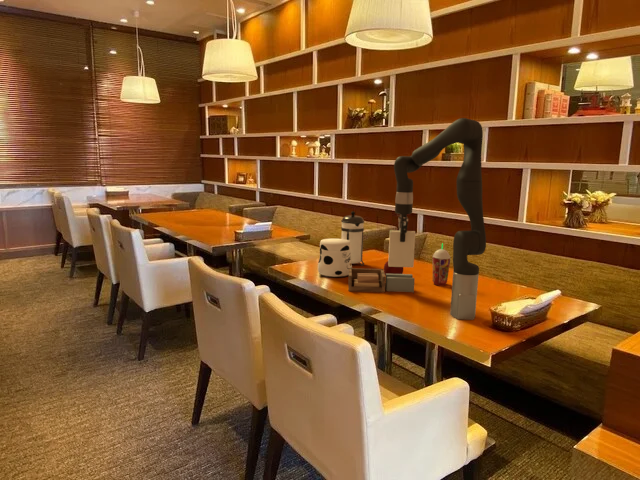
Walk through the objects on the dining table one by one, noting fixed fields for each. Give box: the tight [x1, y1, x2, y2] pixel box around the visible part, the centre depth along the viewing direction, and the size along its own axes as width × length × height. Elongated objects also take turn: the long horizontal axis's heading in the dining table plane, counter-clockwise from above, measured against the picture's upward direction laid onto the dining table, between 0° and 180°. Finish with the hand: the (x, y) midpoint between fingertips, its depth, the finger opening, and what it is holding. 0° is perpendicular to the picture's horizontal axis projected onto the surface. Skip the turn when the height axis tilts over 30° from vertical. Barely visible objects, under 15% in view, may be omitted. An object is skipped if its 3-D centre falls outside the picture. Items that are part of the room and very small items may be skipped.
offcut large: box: [354, 279, 379, 287], centre depth 204 cm, size 6×11×4 cm, turn 87°
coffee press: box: [340, 211, 365, 266], centre depth 254 cm, size 17×16×30 cm
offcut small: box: [357, 273, 379, 283], centre depth 204 cm, size 5×9×3 cm, turn 91°
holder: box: [385, 273, 415, 295], centre depth 205 cm, size 8×12×7 cm, turn 87°
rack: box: [348, 267, 386, 293], centre depth 206 cm, size 14×16×8 cm
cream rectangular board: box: [387, 229, 416, 268], centre depth 202 cm, size 2×11×16 cm, turn 86°
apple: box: [383, 260, 404, 277], centre depth 222 cm, size 10×10×10 cm
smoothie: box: [432, 242, 452, 287], centre depth 216 cm, size 8×8×20 cm
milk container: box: [317, 238, 353, 279], centre depth 228 cm, size 17×17×18 cm
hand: (402, 241), depth 201 cm, fingers closed on cream rectangular board, 2 cm apart
